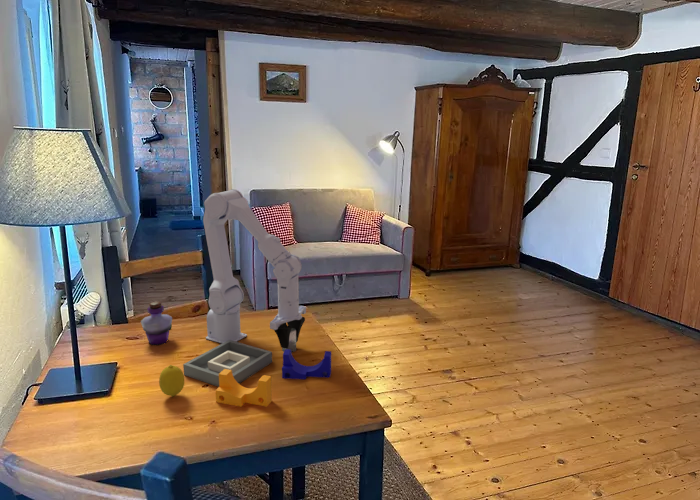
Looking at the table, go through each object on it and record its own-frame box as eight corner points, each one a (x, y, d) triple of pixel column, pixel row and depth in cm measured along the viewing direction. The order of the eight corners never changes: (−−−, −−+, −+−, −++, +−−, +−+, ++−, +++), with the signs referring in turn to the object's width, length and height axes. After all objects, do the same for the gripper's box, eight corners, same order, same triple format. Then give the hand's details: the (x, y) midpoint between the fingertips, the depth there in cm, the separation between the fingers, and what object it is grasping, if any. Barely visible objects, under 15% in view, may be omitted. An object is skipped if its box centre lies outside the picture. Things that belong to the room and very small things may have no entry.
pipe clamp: (216, 402, 115) (214, 377, 114) (225, 393, 119) (224, 368, 118) (263, 411, 112) (262, 385, 111) (271, 401, 116) (271, 376, 115)
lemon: (162, 405, 114) (159, 373, 112) (159, 393, 118) (156, 362, 116) (187, 399, 116) (185, 368, 114) (183, 388, 121) (181, 358, 119)
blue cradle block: (282, 378, 126) (281, 357, 125) (285, 370, 131) (285, 349, 129) (329, 381, 126) (329, 359, 124) (331, 372, 130) (331, 351, 128)
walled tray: (184, 375, 127) (183, 364, 126) (229, 349, 142) (229, 339, 141) (228, 390, 120) (228, 379, 119) (272, 362, 135) (272, 351, 134)
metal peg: (279, 350, 141) (278, 331, 140) (287, 345, 145) (287, 326, 143) (290, 354, 139) (290, 334, 138) (299, 348, 143) (298, 329, 141)
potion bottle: (180, 338, 148) (177, 300, 145) (158, 350, 141) (155, 310, 138) (158, 333, 152) (155, 296, 149) (136, 344, 144) (132, 305, 141)
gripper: (284, 310, 130) (285, 357, 134) (314, 294, 142) (314, 338, 146) (263, 305, 133) (264, 351, 137) (294, 290, 146) (295, 333, 149)
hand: (289, 344), depth 142 cm, fingers closed on metal peg, 4 cm apart
